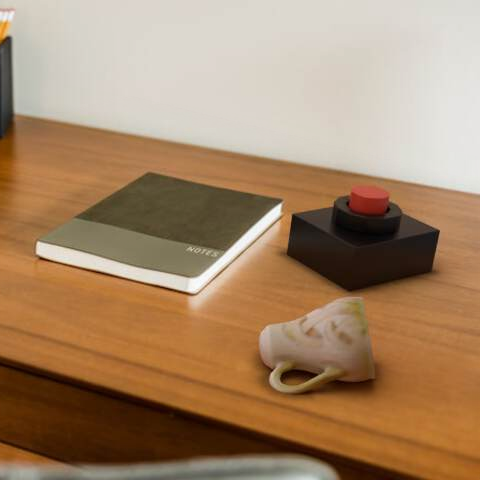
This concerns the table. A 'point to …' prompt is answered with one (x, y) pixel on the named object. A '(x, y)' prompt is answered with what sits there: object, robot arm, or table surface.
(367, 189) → the button
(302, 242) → the console
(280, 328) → the mug
